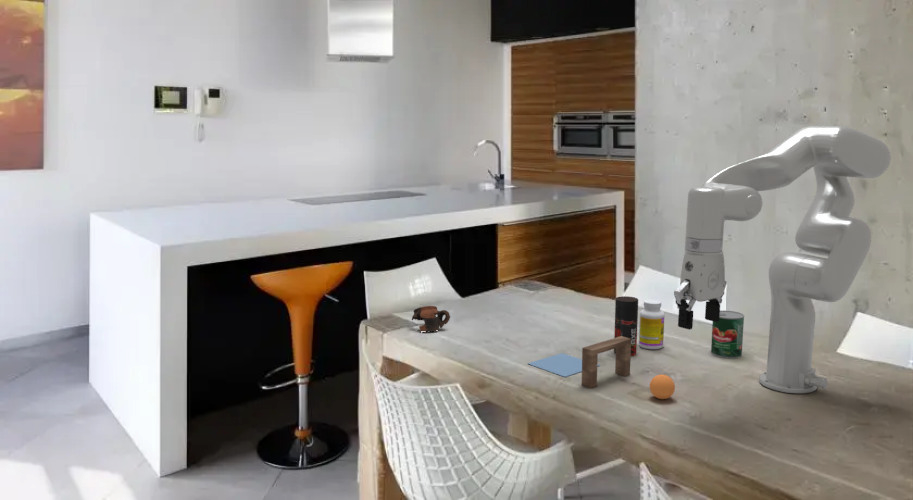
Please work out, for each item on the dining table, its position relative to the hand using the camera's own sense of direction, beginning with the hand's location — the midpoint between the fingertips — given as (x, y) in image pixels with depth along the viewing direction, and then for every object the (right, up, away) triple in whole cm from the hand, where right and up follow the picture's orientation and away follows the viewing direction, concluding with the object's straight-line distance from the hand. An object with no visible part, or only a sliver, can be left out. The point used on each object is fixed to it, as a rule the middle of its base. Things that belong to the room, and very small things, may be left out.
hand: (698, 324), depth 158 cm
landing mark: (-24, -14, +32) cm, 42 cm away
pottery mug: (-60, -8, +66) cm, 89 cm away
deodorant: (-6, -12, +41) cm, 43 cm away
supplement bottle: (+2, -11, +47) cm, 48 cm away
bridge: (-16, -16, +21) cm, 31 cm away
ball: (-5, -15, +8) cm, 18 cm away
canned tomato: (+21, -12, +40) cm, 46 cm away
